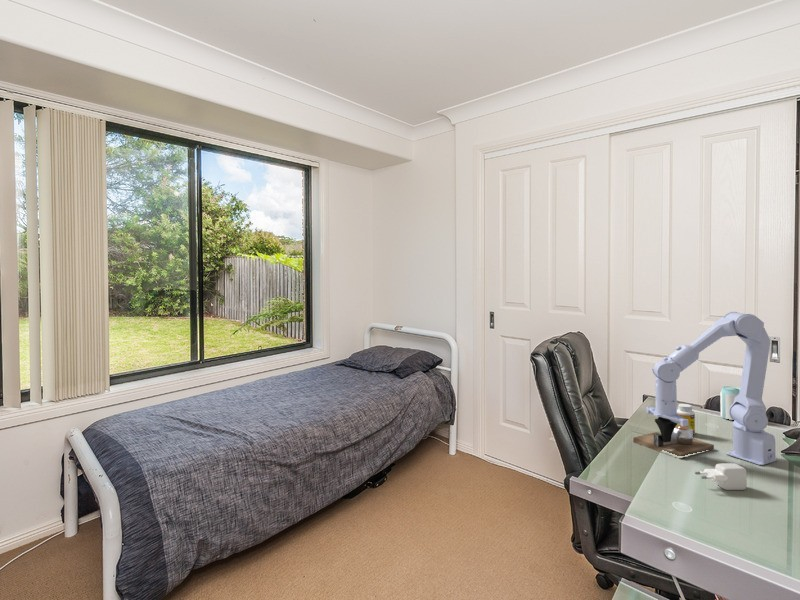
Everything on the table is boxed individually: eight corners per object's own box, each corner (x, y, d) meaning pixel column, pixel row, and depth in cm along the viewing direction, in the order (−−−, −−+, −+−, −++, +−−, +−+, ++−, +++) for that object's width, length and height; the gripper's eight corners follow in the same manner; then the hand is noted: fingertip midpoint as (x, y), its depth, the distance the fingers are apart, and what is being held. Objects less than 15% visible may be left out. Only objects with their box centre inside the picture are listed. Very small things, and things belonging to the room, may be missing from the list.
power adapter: (704, 492, 108) (704, 470, 108) (692, 483, 113) (692, 462, 113) (749, 491, 108) (749, 469, 107) (735, 482, 112) (735, 461, 112)
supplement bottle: (693, 437, 145) (692, 408, 144) (674, 434, 149) (673, 405, 148) (696, 433, 148) (696, 404, 148) (678, 429, 152) (677, 402, 152)
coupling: (681, 437, 141) (681, 423, 141) (697, 443, 135) (696, 428, 135) (648, 442, 138) (648, 427, 138) (663, 448, 132) (663, 433, 132)
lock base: (713, 449, 134) (713, 444, 134) (680, 459, 128) (680, 454, 128) (665, 433, 149) (665, 429, 149) (633, 441, 143) (633, 437, 143)
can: (732, 415, 165) (732, 385, 165) (748, 421, 158) (748, 389, 158) (716, 416, 165) (715, 386, 165) (731, 422, 158) (731, 390, 158)
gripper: (637, 394, 140) (638, 435, 140) (674, 406, 126) (674, 451, 126) (656, 393, 141) (656, 432, 142) (694, 404, 127) (694, 448, 127)
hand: (666, 441), depth 134 cm, fingers closed
